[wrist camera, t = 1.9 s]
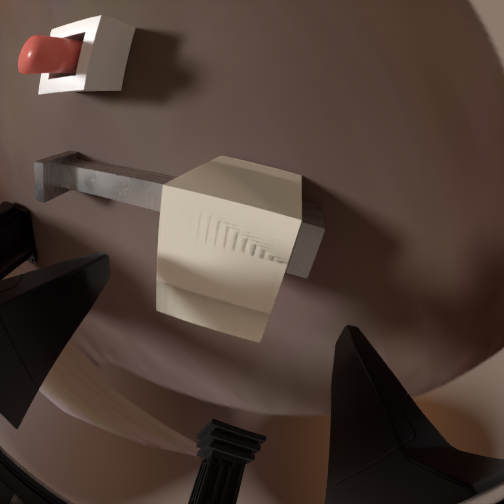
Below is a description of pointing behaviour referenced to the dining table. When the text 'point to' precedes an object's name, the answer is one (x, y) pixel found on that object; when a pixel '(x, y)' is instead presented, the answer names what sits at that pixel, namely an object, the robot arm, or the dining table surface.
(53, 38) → the plunger
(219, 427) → the black fluted column
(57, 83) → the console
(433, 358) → the dining table surface
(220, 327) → the carriage
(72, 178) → the rail
